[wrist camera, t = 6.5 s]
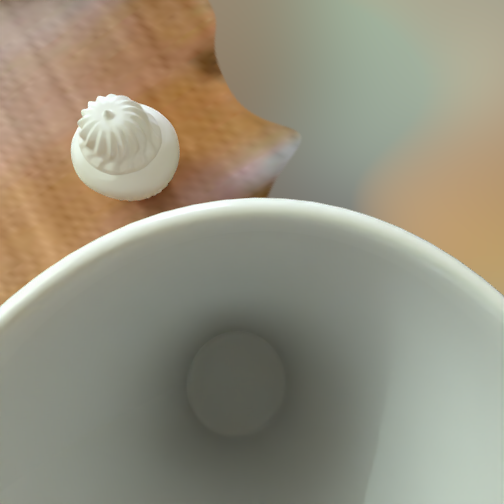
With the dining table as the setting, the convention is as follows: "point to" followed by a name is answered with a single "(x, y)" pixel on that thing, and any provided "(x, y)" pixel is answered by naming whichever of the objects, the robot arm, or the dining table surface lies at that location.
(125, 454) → the white cup
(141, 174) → the muffin
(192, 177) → the dining table surface
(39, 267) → the dining table surface
